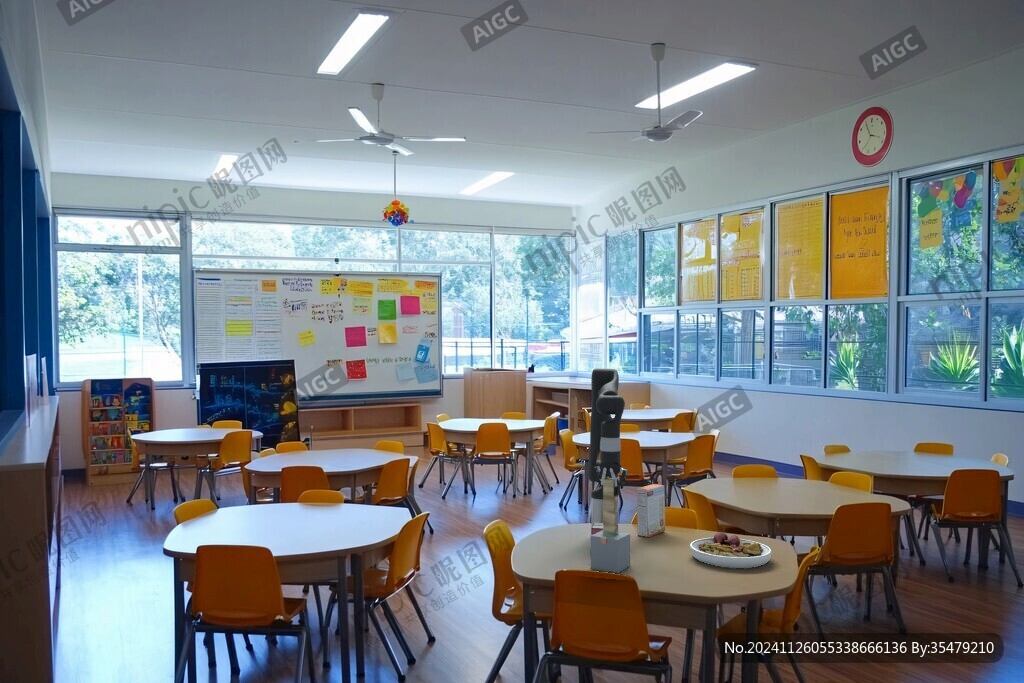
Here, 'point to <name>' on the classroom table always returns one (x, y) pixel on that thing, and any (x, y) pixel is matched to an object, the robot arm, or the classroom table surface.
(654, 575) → the classroom table surface
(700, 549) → the plate of food
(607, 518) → the post
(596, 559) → the grey box
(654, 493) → the cracker box
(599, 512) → the robot arm
